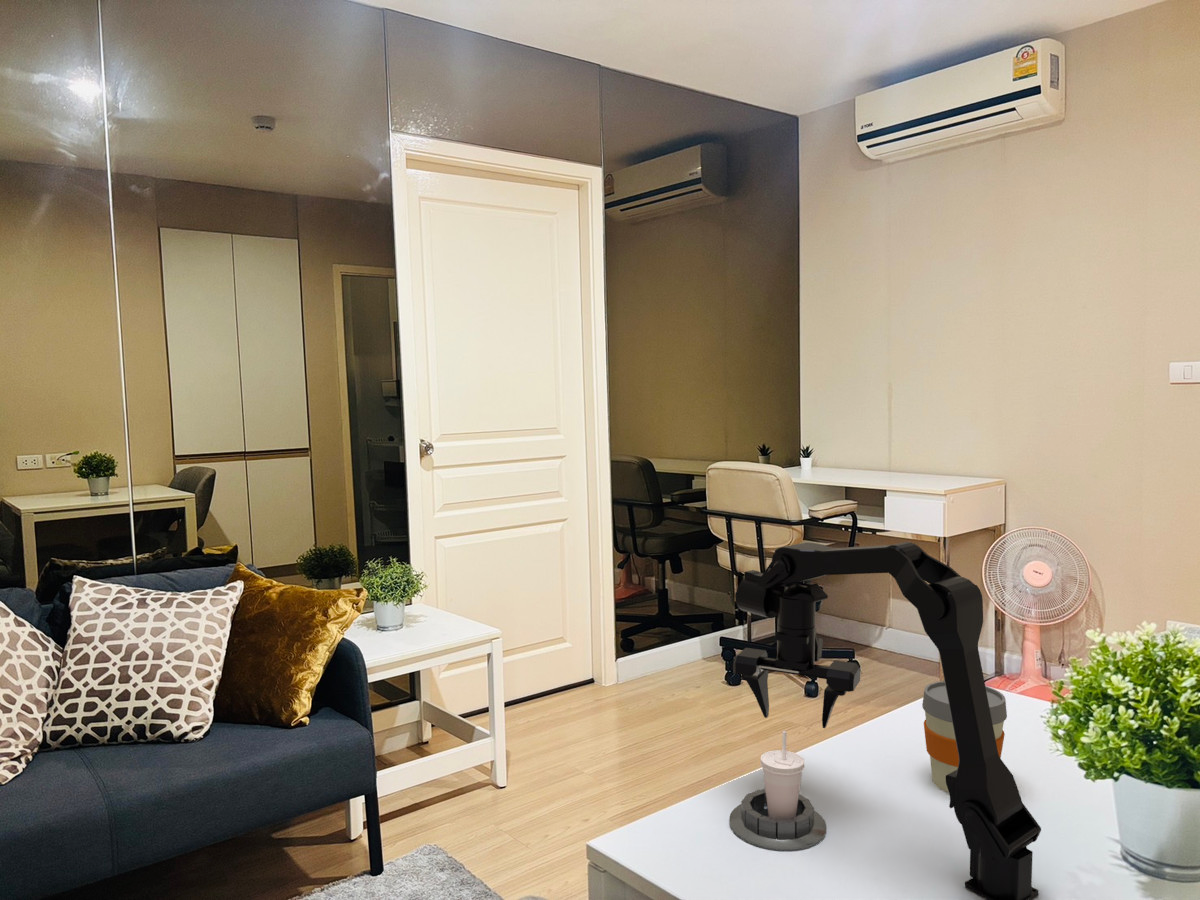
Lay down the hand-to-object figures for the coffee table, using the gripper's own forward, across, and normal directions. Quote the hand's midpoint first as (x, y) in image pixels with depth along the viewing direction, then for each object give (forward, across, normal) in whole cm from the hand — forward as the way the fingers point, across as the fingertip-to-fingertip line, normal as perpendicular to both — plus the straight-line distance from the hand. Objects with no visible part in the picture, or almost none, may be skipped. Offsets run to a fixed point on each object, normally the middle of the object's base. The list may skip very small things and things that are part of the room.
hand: (795, 721), depth 137 cm
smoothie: (+12, -1, +10) cm, 15 cm away
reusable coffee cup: (+12, -23, -16) cm, 31 cm away
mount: (+12, 0, +10) cm, 16 cm away
